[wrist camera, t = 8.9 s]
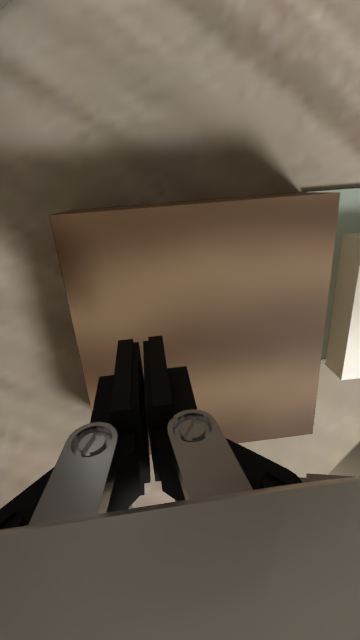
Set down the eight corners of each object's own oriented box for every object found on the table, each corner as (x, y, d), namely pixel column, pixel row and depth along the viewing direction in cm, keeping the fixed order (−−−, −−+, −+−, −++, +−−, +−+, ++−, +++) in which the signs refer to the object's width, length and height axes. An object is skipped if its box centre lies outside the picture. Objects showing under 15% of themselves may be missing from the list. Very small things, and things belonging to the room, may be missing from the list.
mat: (304, 192, 18) (307, 192, 18) (420, 182, 18) (424, 183, 18) (292, 359, 22) (294, 362, 22) (386, 349, 23) (389, 351, 22)
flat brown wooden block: (70, 210, 17) (48, 215, 13) (300, 192, 18) (340, 192, 14) (109, 416, 22) (102, 460, 19) (286, 395, 23) (312, 433, 20)
